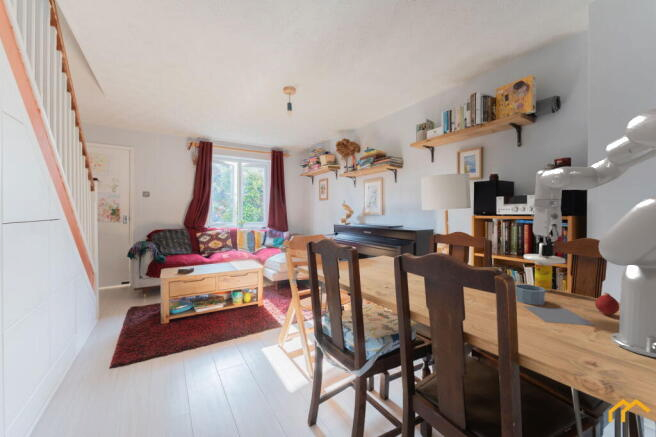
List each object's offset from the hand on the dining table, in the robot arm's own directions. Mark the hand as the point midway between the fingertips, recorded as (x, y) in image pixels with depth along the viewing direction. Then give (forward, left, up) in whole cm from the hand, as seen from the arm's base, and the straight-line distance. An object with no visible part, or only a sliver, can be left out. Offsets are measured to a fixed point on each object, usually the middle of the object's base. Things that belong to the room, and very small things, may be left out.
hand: (543, 254), depth 102 cm
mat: (-7, -1, -20) cm, 21 cm away
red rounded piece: (-3, -18, -20) cm, 27 cm away
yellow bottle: (+27, -13, -20) cm, 36 cm away
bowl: (+8, +1, -20) cm, 22 cm away
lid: (0, 0, -2) cm, 2 cm away
